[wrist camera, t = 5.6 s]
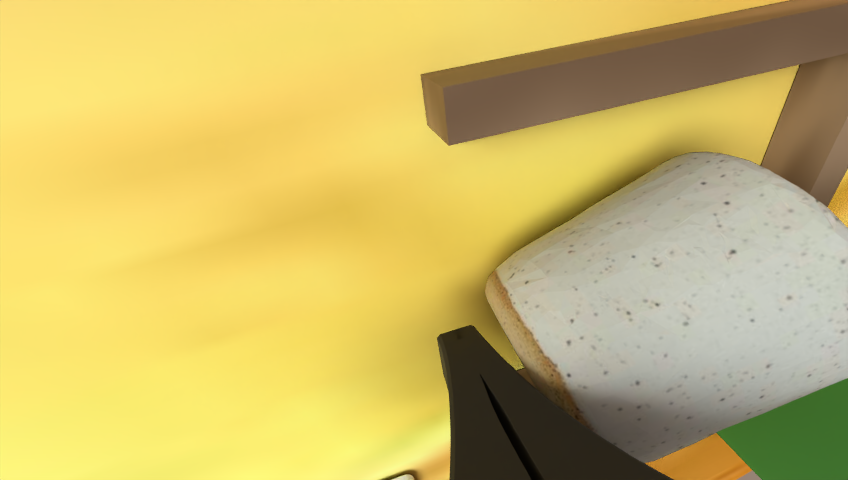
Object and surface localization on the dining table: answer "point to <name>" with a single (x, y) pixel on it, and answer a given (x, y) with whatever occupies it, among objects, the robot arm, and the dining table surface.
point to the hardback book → (797, 438)
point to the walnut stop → (671, 83)
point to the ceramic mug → (681, 303)
